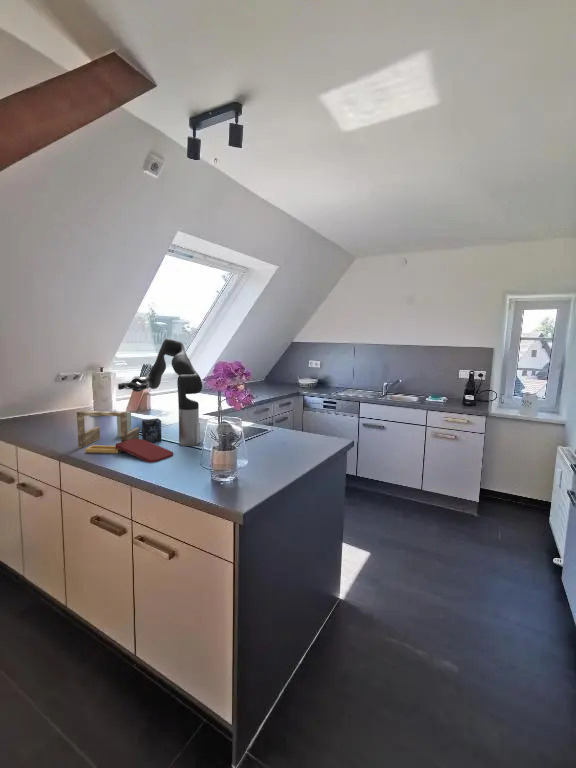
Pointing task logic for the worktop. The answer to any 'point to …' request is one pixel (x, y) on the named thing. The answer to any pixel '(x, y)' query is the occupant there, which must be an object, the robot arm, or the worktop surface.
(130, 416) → the block
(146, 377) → the robot arm
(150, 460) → the dark red bent panel
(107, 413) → the tunnel
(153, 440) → the box
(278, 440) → the worktop surface
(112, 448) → the tray
